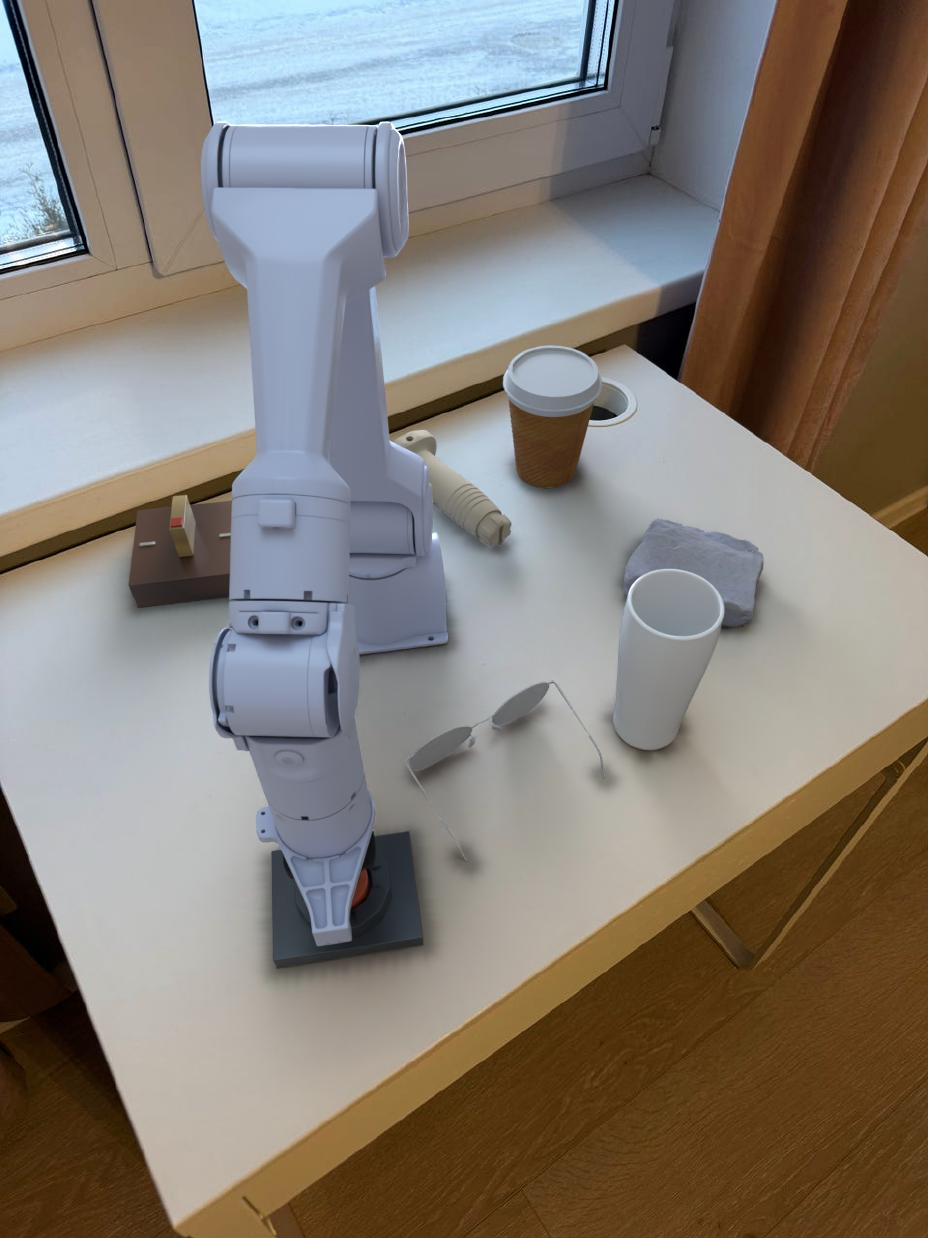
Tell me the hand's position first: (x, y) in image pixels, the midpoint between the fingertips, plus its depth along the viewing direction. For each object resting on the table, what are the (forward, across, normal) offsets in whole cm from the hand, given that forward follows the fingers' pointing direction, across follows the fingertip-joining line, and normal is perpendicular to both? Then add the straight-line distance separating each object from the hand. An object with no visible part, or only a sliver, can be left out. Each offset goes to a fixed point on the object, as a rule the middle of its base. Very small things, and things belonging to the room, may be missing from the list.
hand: (341, 880), depth 61 cm
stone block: (+4, -26, +34) cm, 43 cm away
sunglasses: (+4, -8, +13) cm, 16 cm away
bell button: (+2, 0, 0) cm, 2 cm away
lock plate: (+3, -36, -12) cm, 38 cm away
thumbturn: (0, -36, -12) cm, 38 cm away
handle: (+2, -33, +17) cm, 37 cm away
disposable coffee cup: (+4, -44, +24) cm, 50 cm away
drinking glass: (+4, -11, +25) cm, 28 cm away
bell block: (+3, 0, 0) cm, 3 cm away
